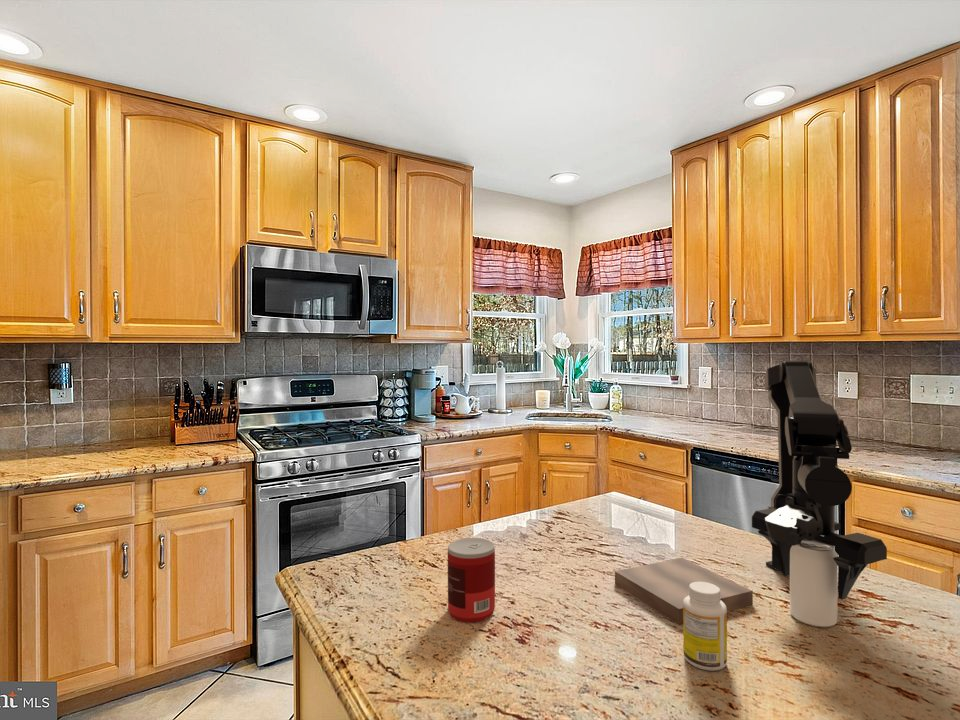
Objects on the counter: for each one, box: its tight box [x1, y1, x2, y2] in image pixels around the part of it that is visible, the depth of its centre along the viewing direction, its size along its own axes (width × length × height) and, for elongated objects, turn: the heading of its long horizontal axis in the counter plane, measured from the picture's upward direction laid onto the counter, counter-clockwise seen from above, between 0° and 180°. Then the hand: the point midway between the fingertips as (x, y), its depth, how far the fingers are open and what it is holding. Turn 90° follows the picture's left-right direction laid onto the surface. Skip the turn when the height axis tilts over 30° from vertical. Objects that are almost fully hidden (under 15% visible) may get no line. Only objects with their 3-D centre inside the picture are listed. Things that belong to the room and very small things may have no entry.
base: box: [614, 557, 754, 626], centre depth 95 cm, size 16×16×2 cm
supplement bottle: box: [682, 582, 728, 672], centre depth 74 cm, size 6×6×10 cm
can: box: [789, 539, 838, 629], centre depth 86 cm, size 6×6×12 cm
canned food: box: [447, 537, 496, 624], centre depth 89 cm, size 8×8×11 cm
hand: (813, 586), depth 86 cm, fingers open, 9 cm apart
